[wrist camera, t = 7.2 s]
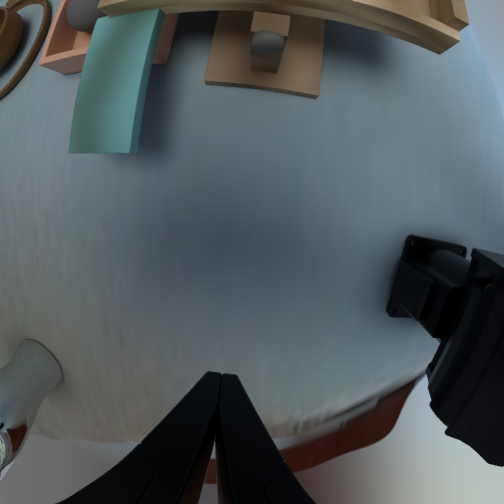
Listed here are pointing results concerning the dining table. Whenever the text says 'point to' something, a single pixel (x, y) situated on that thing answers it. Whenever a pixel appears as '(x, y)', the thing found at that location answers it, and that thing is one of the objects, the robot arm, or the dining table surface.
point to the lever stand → (267, 51)
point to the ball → (83, 14)
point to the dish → (76, 43)
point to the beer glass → (23, 396)
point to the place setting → (18, 37)
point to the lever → (160, 3)
